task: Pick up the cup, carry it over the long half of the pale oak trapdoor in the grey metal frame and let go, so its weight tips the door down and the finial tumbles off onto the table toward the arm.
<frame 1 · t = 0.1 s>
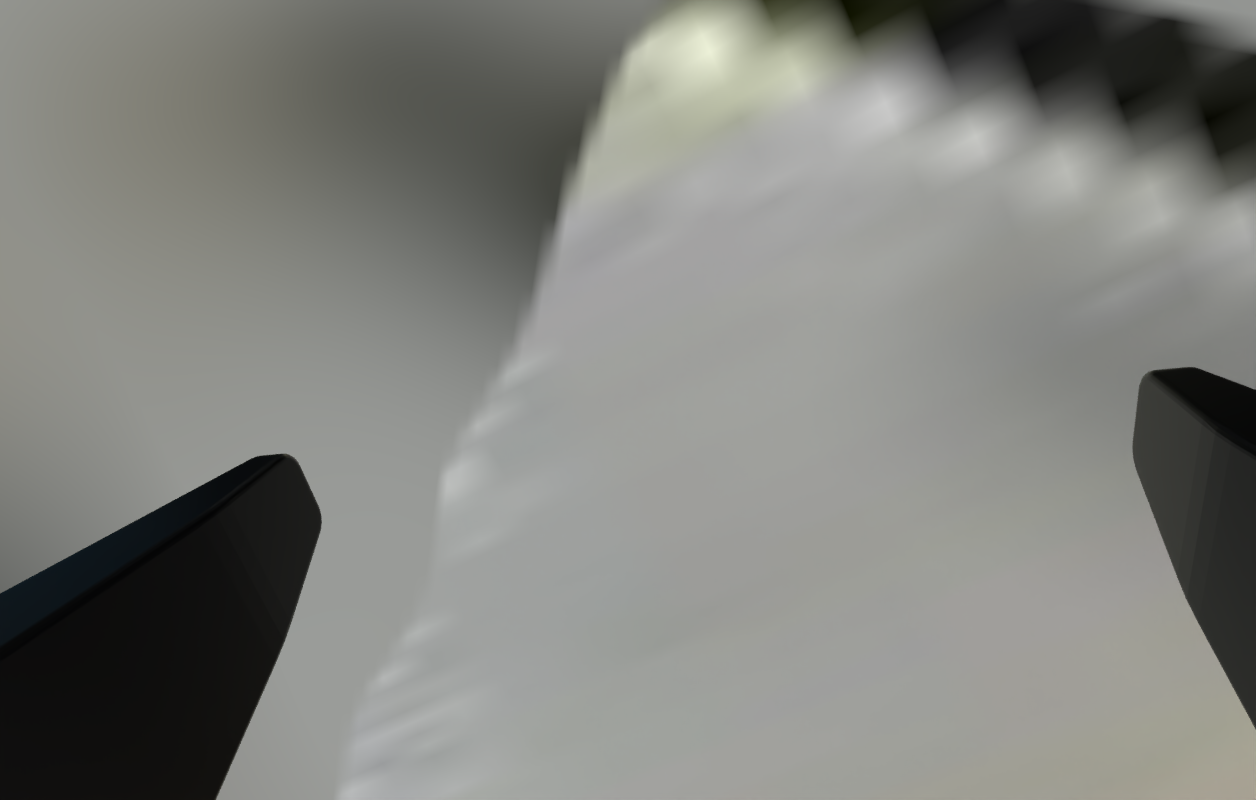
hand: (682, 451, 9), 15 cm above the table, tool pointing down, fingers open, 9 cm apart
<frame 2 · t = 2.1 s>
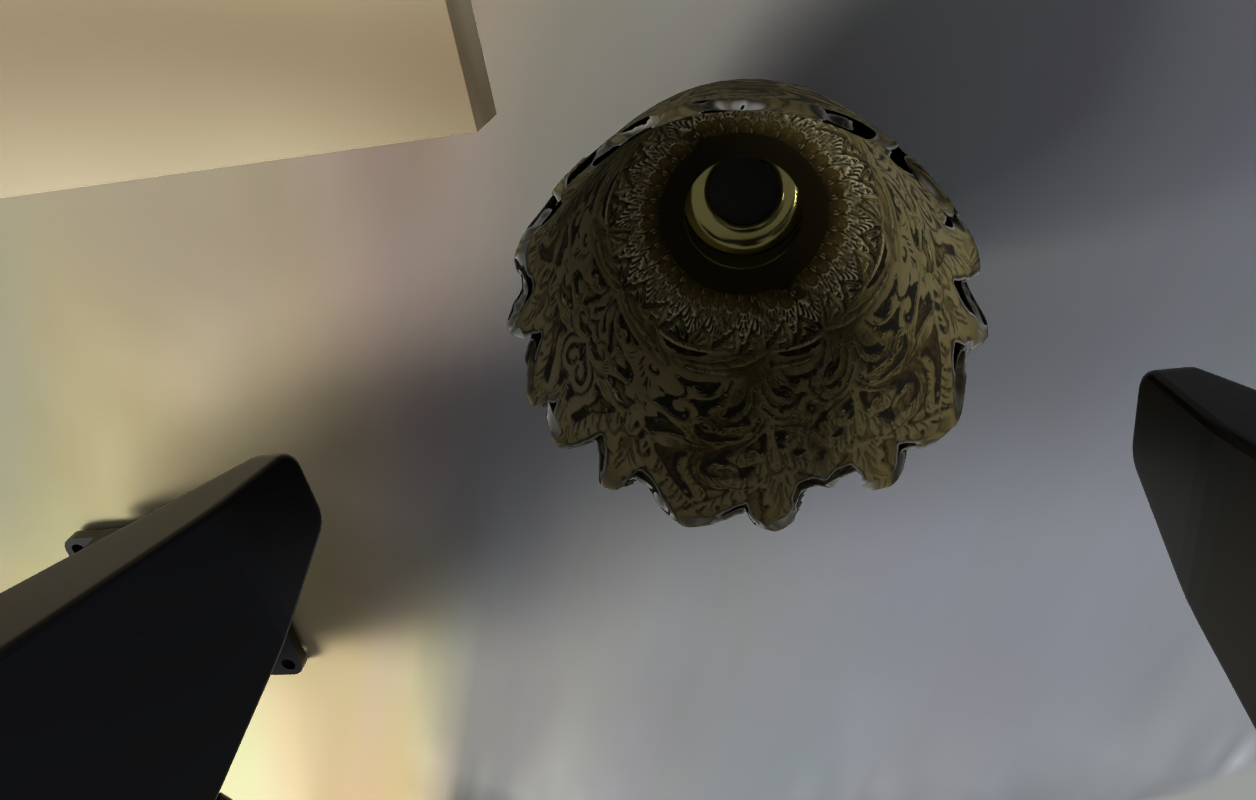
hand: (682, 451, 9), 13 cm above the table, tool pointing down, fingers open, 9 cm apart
cup: (744, 187, 21), on the table
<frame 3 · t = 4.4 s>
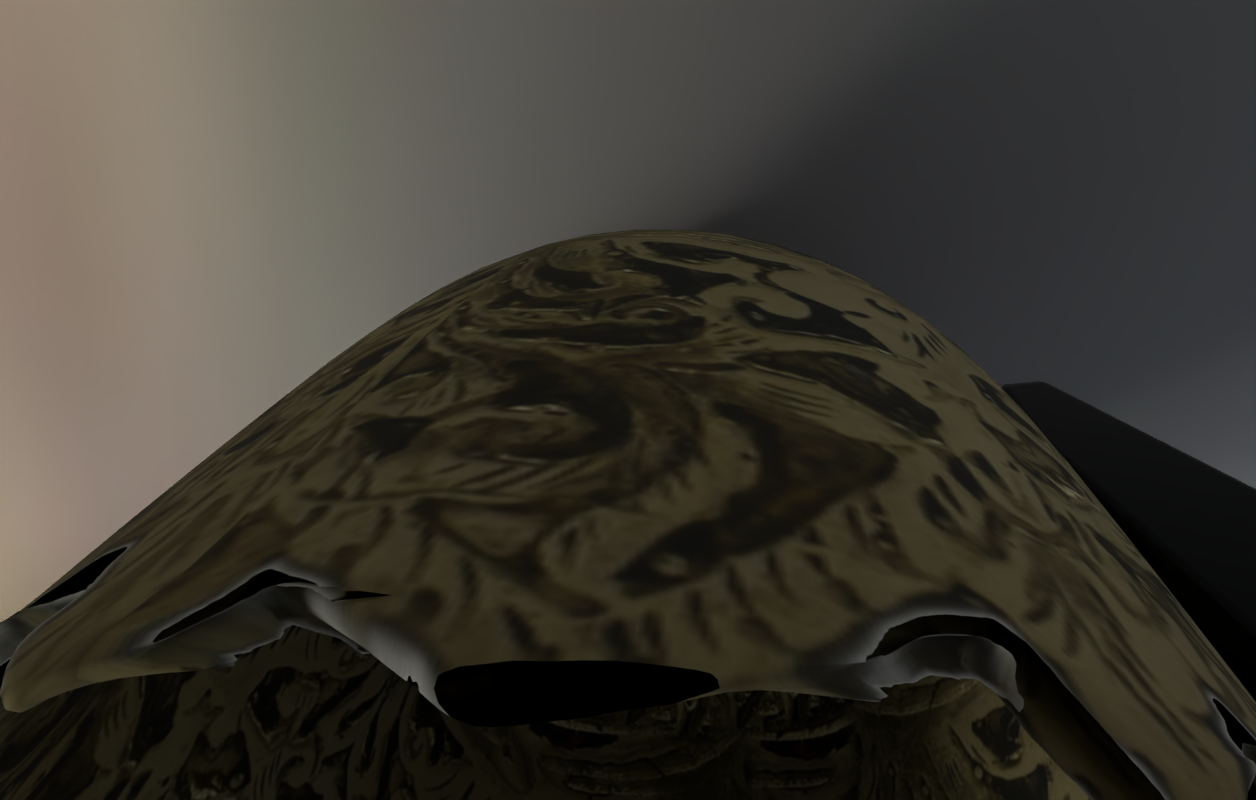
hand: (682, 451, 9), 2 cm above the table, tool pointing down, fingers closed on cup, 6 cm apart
cup: (692, 372, 11), on the table, touching gripper
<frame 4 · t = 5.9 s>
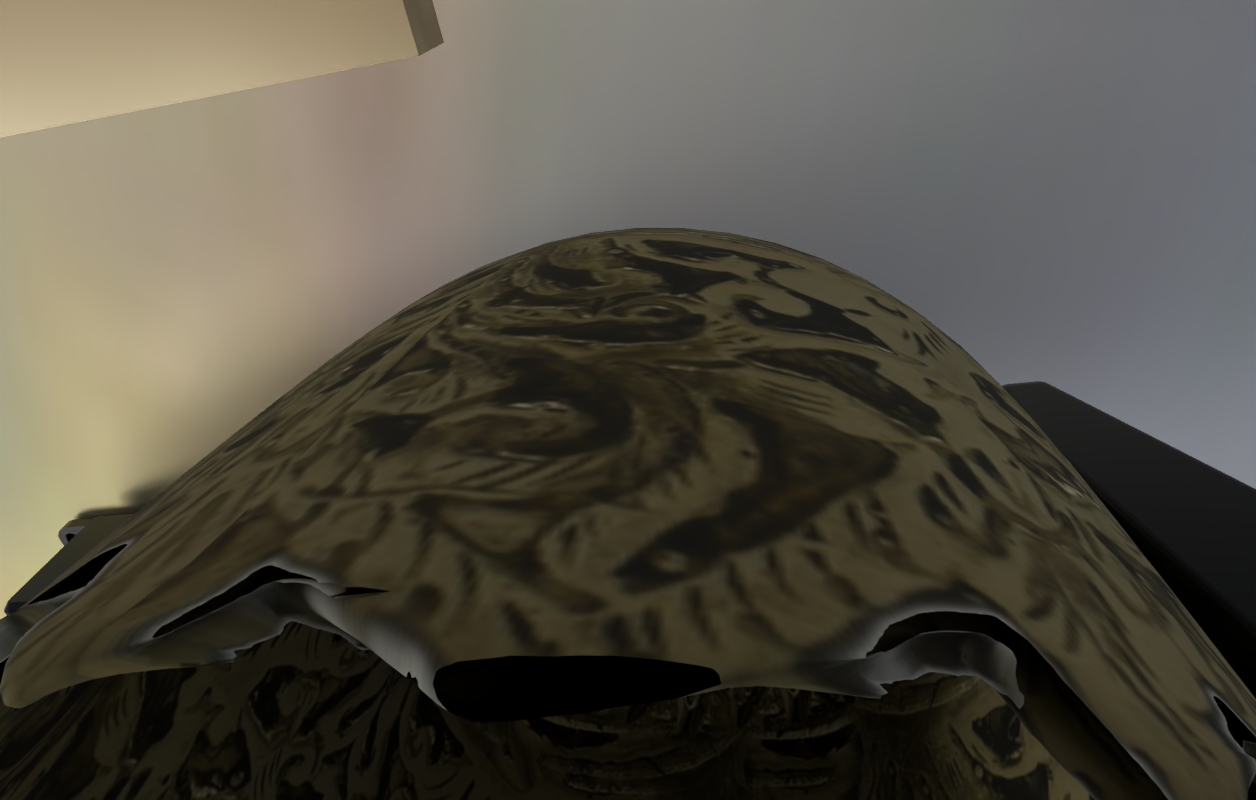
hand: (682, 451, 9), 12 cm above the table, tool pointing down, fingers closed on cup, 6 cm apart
cup: (692, 371, 11), point 11 cm above the table, touching gripper
when the fingers open (12 cm above the table, at t = 7.6 s): cup drops 4 cm, point 7 cm above the table.
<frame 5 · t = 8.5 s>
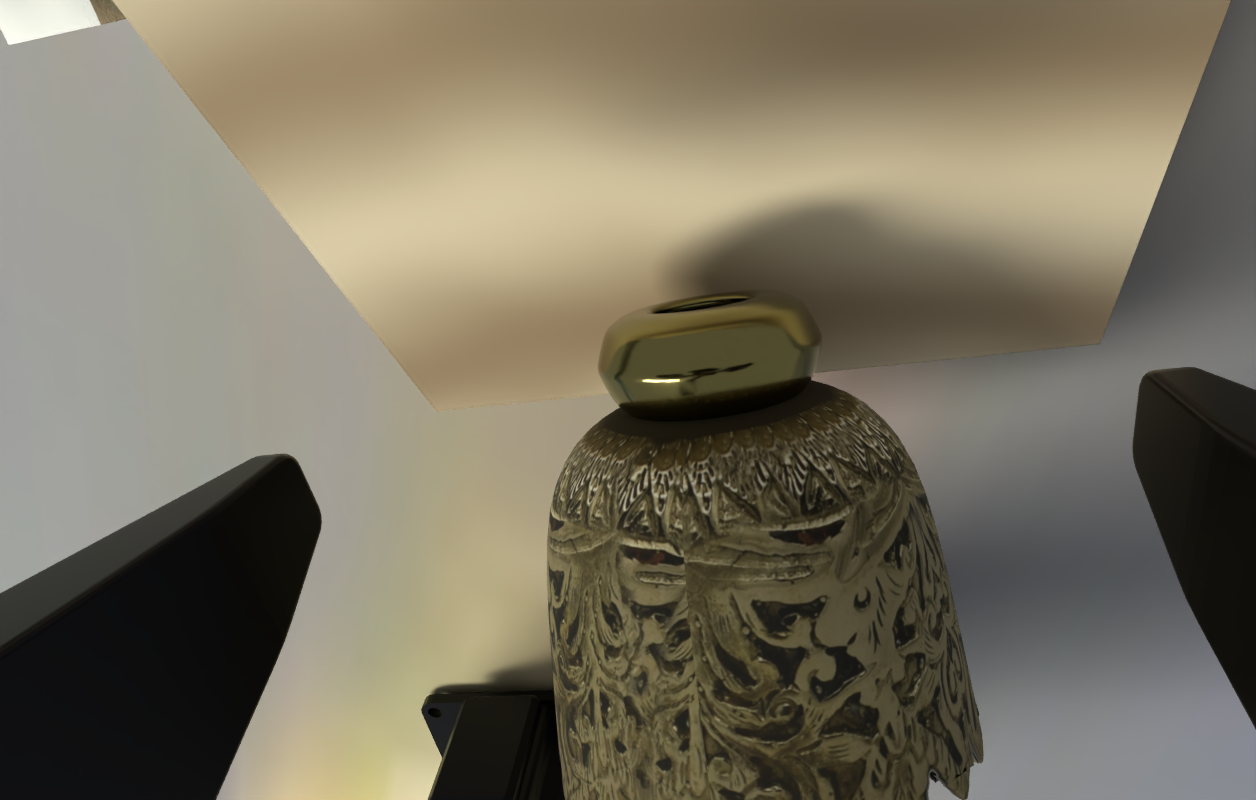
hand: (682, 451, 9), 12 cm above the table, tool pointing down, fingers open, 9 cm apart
cup: (699, 289, 14), point 7 cm above the table
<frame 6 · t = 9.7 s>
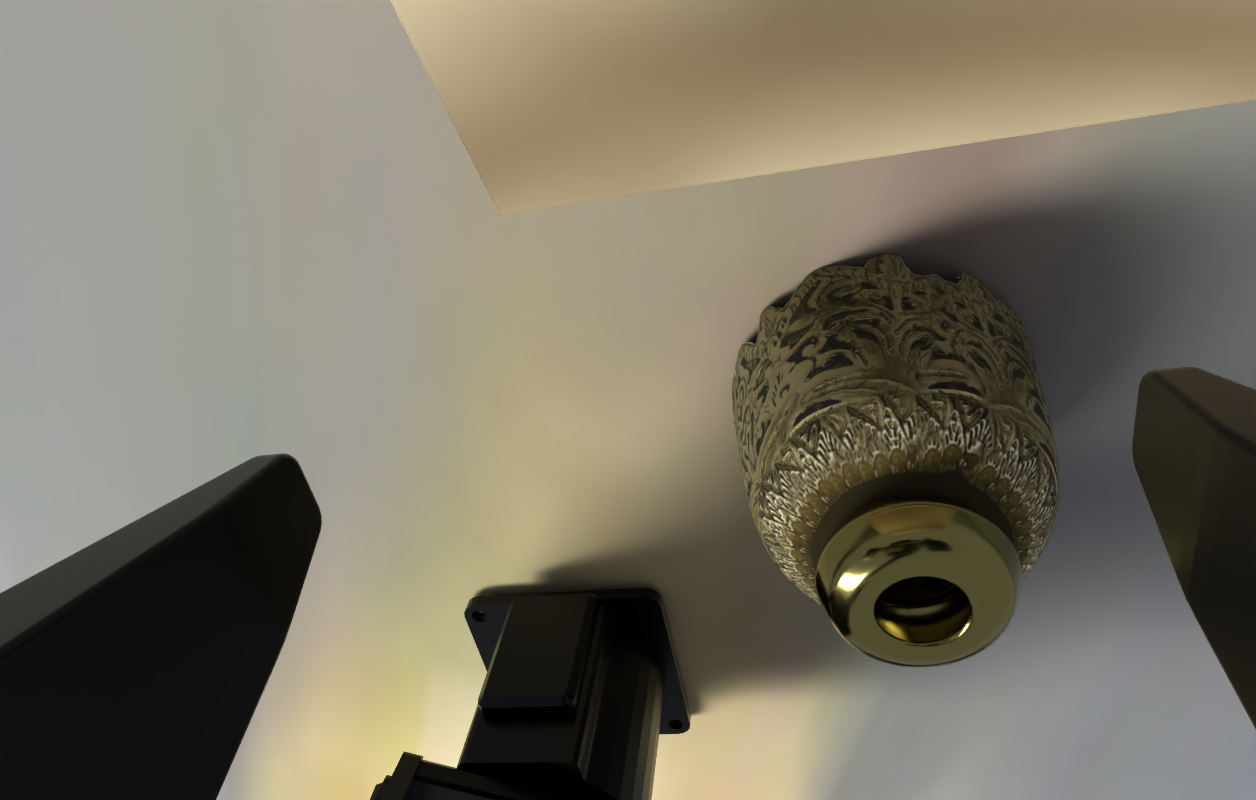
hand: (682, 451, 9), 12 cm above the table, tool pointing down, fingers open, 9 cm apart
cup: (924, 622, 15), point 8 cm above the table
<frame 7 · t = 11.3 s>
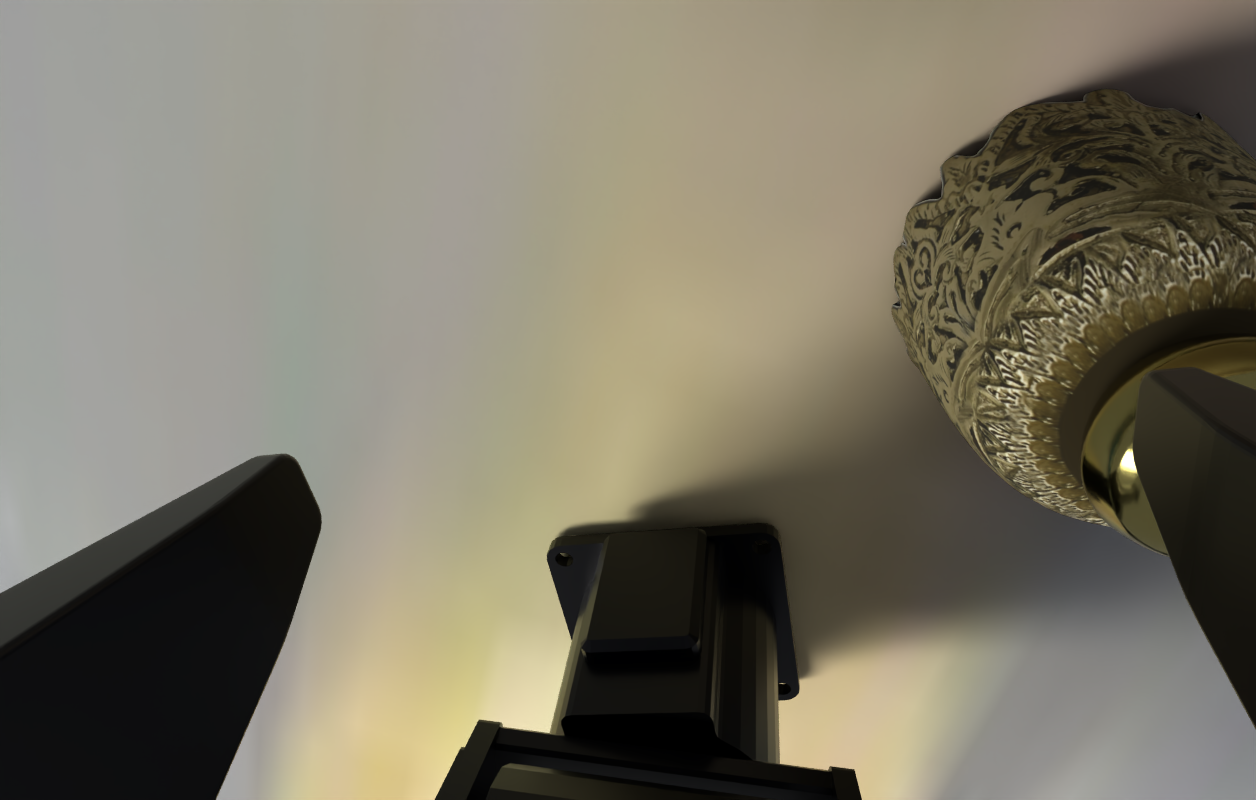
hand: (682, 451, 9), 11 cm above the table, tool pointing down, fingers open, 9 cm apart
cup: (1251, 493, 12), point 8 cm above the table
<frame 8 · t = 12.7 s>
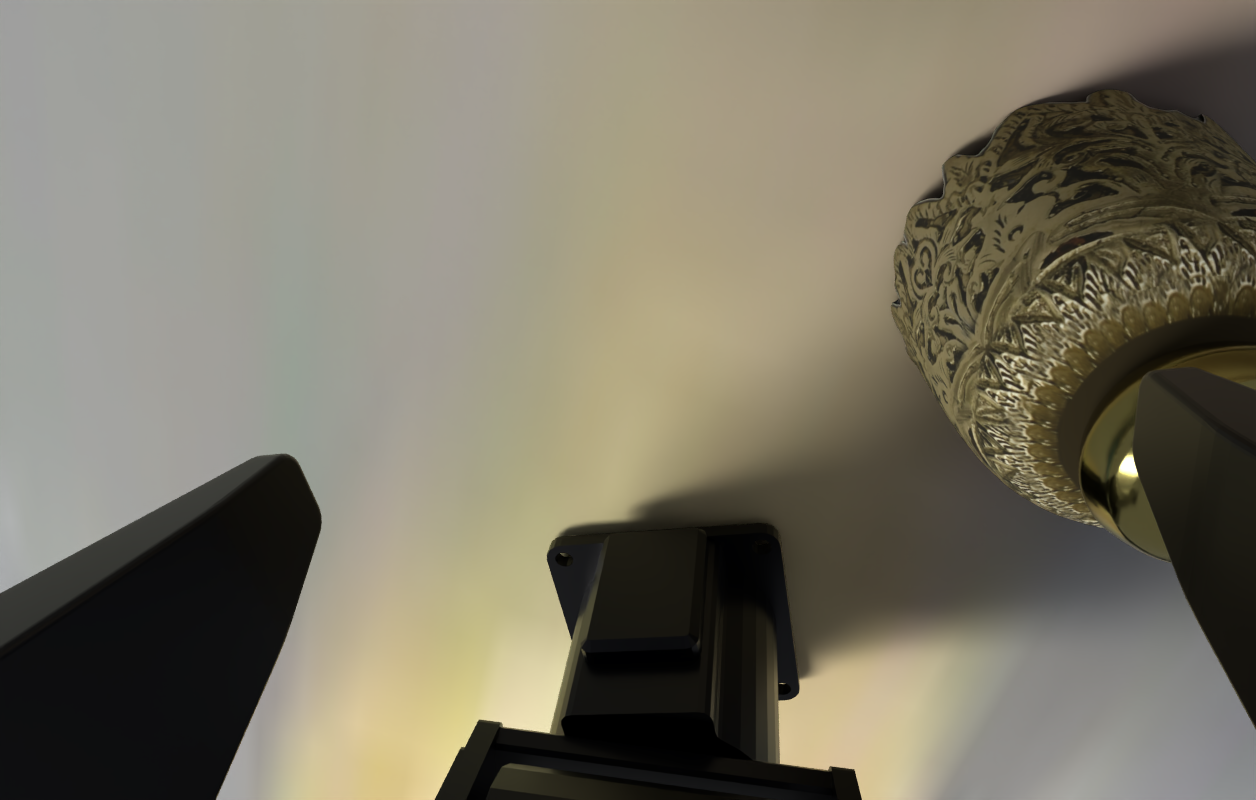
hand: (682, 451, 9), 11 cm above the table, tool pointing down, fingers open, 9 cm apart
cup: (1247, 500, 12), point 8 cm above the table
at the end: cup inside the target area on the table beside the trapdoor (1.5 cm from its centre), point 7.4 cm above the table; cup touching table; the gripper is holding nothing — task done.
